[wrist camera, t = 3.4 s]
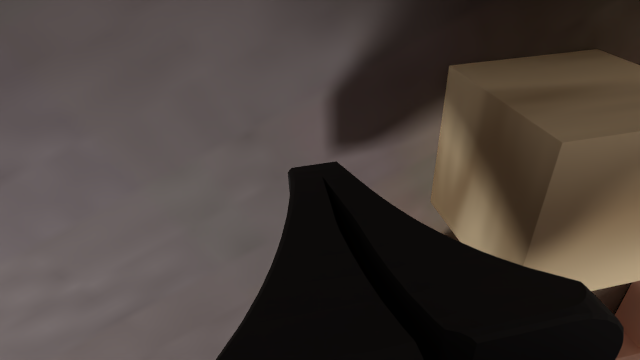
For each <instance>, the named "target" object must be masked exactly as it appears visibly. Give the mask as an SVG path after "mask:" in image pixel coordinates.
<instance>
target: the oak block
mask: <svg viewBox="0 0 640 360" xmlns="http://www.w3.org/2000/svg"><path fill="white" fill-rule="evenodd" d="M431 203H432V204H433V206H434V207H435V208H436V210H437V211H438V213H439V214H440V215H441V217H442V218H443V219H444V221H445V222H446V223H447V225H448V226H449V227H450V229H451V230H452V231H453V233H454V234H455V235H456V237H457V238H458V240H459V241H460V242H461V243H463V244H466V245H468V246H470V247H473V248H475V249H477V250H480V251H482V252H485V253H488V254H490V255H493V256H496V257H498V258H501V259H504V260H507V261H510V262H513V263H516V264H519V265H522V266H525V267H528V268H532V269H536V270H539V271H543V272H547V273H550V274H554V275H558V276H562V277H565V278H569V279H573V280H577V281H580V282H582V283H583V284H584V285H585V286H586V287H587V288H588V289H589V290H590V291H594V290H598V289H603V288H608V287H612V286H617V285H622V284H626V283H631V282H635V281H640V65H638V64H635V63H633V62H630V61H627V60H625V59H622V58H620V57H617V56H614V55H612V54H609V53H606V52H604V51H601V50H599V49H593V50H584V51H575V52H566V53H557V54H548V55H539V56H530V57H521V58H512V59H503V60H494V61H485V62H476V63H467V64H458V65H449V71H448V78H447V86H446V93H445V100H444V107H443V115H442V122H441V129H440V136H439V144H438V151H437V158H436V165H435V173H434V180H433V187H432V194H431Z"/></svg>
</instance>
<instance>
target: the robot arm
mask: <svg viewBox="0 0 640 360" xmlns="http://www.w3.org/2000/svg"><path fill="white" fill-rule="evenodd" d="M288 179H289V190H290V199H289V206H288V213H287V218H286V222H285V225H284V229H283V233H282V237H281V240H280V243H279V246H278V249H277V252H276V255H275V257H274V260H273V263H272V265H271V267H270V270H269V272H268V274H267V276H266V279H265V281H264V283H263V285H262V287H261V289H260V291H259V293H258V295H257V297H256V298H255V300H254V302H253V304H252V305H251V307H250V309H249V311H248V312H247V314H246V316H245V318H244V319H243V321H242V323H241V324H240V326H239V327H238V329H237V330H236V332H235V333H234V334H233V336H232V337H231V339H230V340H229V342H228V343H227V344H226V346H225V347H224V349H223V350H222V352H221V353H220V354H219V356H218V357H217V359H216V360H615V359H616V357H617V356H618V354H619V352H620V349H621V347H622V344H623V339H624V327H623V326H622V324H621V323H620V321H619V319H618V318H617V317H616V316H615V315H614V314H613V313H612V312H611V311H610V310H609V309H608V308H607V307H606V306H605V305H604V304H603V303H602V302H601V301H600V300H599V299H598V298H597V297H596V296H595V295H594V294H593V293H592V292H591V291H590V290H589V289H588V288H587V287H586V286H585V285H584V284H583V283H582V282H580V281H577V280H573V279H569V278H565V277H562V276H558V275H554V274H550V273H547V272H543V271H539V270H536V269H532V268H528V267H525V266H522V265H519V264H516V263H513V262H510V261H507V260H504V259H501V258H498V257H496V256H493V255H490V254H488V253H485V252H482V251H480V250H477V249H475V248H473V247H470V246H468V245H466V244H463V243H461V242H459V241H456V240H454V239H452V238H450V237H448V236H446V235H443V234H441V233H440V232H438V231H436V230H434V229H432V228H430V227H428V226H426V225H424V224H423V223H421V222H419V221H417V220H416V219H414V218H412V217H410V216H409V215H407V214H406V213H404V212H403V211H401V210H399V209H398V208H396V207H395V206H393V205H392V204H390V203H389V202H387V201H386V200H385V199H383V198H382V197H380V196H379V195H378V194H376V193H375V192H374V191H372V190H371V189H370V188H368V187H367V186H366V185H365V184H363V183H362V182H361V181H360V180H358V179H357V178H356V177H355V176H354V175H352V174H351V173H350V172H349V171H347V170H346V169H345V168H344V167H343V166H341V165H340V164H339V163H338V162H330V163H323V164H316V165H309V166H302V167H295V168H291V169H290V170H289V172H288Z"/></svg>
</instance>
